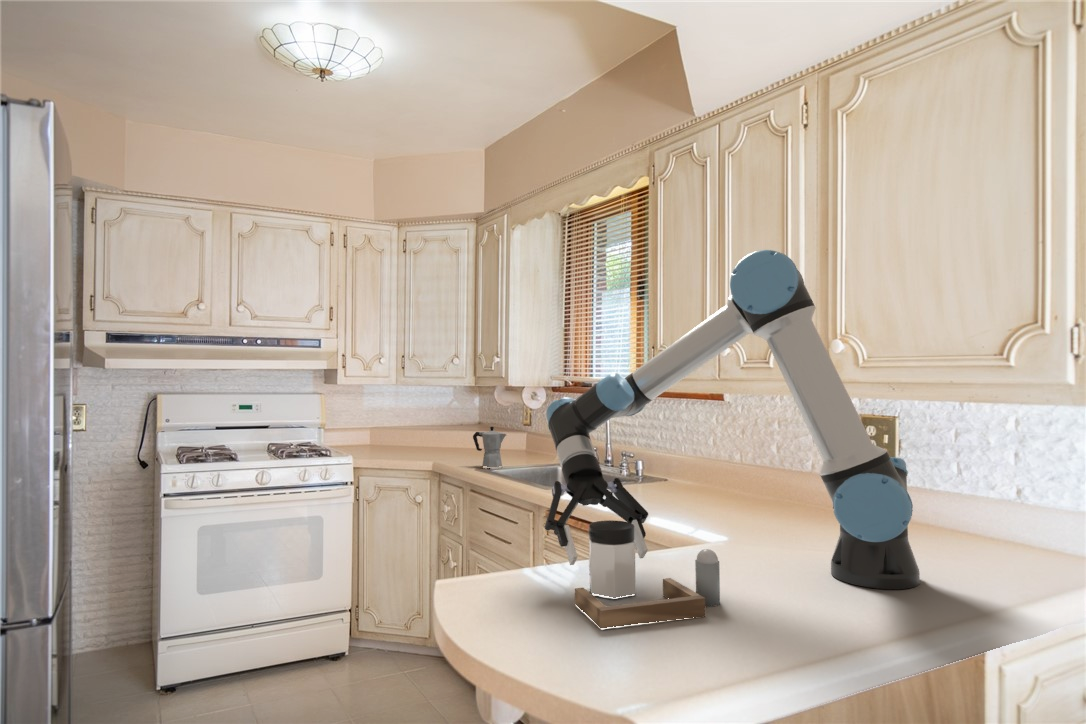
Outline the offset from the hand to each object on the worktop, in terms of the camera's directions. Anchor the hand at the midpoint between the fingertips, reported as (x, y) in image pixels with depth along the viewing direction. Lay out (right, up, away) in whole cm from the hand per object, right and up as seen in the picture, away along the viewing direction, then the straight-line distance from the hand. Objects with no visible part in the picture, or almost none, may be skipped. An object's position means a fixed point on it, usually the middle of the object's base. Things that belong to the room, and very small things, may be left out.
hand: (609, 557), depth 120 cm
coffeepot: (-35, -11, +171) cm, 175 cm away
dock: (+3, -6, -10) cm, 12 cm away
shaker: (+16, -6, -6) cm, 18 cm away
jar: (0, -6, 0) cm, 6 cm away
